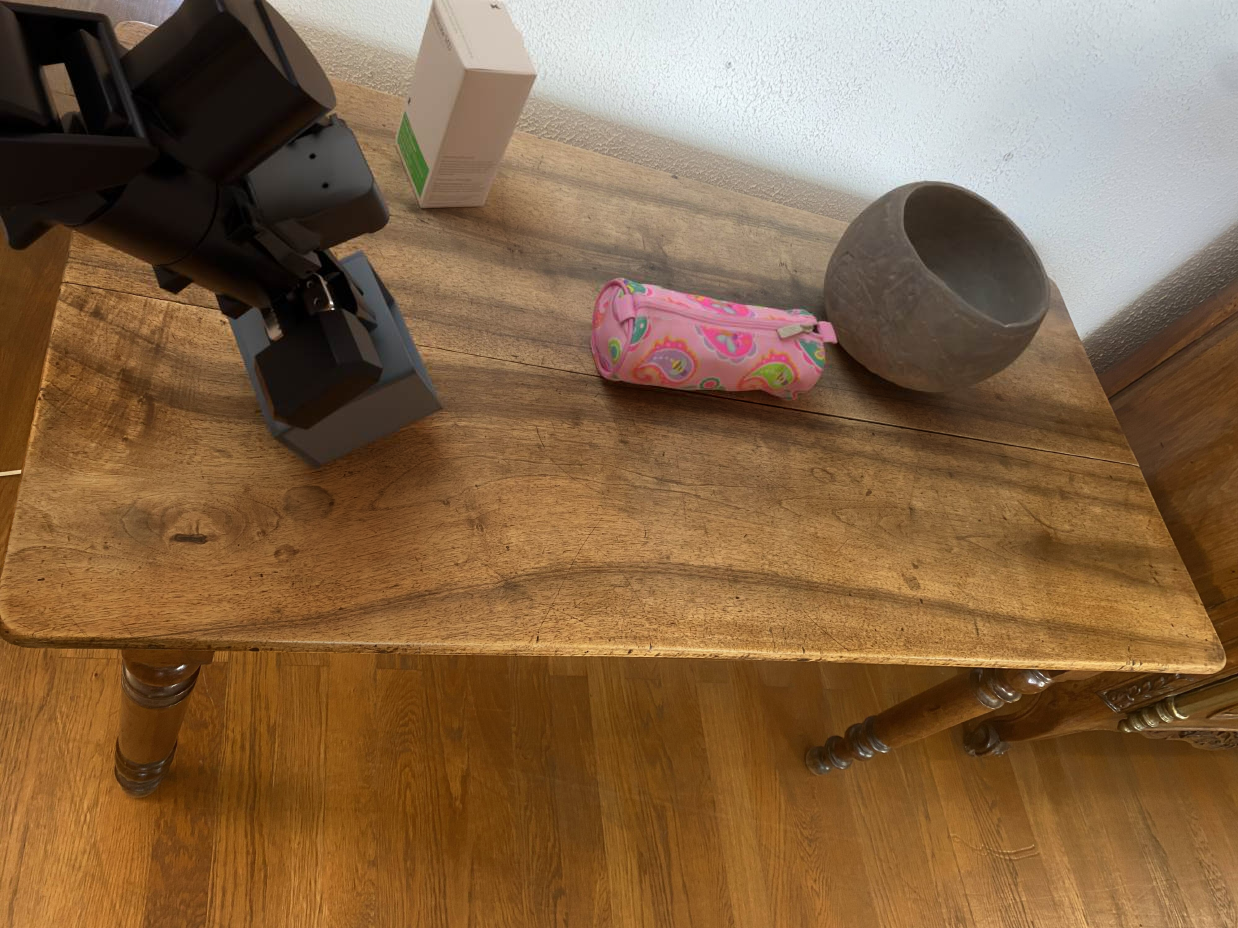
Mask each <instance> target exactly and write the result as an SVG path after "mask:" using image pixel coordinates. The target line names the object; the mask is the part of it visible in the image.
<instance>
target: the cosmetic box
mask: <svg viewBox="0 0 1238 928" xmlns="http://www.w3.org/2000/svg"><path fill="white" fill-rule="evenodd" d="M537 77H538V73H537V71H536V69H535V67H534V64H533V62H532V60H531V58H530V56H529V53H528V51H527V49H526V47H525V39H524V37H523V35H522V33H521V31H520V30H519V29H518V28H516V26H515V24H514V22H513V19H512V17H511V15H510V13H509V10H508V8H507V6H506V3H505V2H504V1H499V0H432V2H431V4H430V8H429V12H428V17H427V20H426V24H425V27H424V31H423V35H422V39H421V41H420V46H419V50H418V53H417V57H416V61H415V64H414V68H413V72H412V76H411V79H410V83H409V87H408V90H407V93H406V97H405V100H404V103H403V104H404V105H403V108H402V113H401V116H400V120H399V122H398V127H397V130H396V134H395V138H394V144H395V147H396V149H397V152H398V154H399V156H400V160H401V163H402V165H403V167H404V170H405V173H406V175H407V177H408V179H409V182H410V184H411V185H410V186H411V187H412V190H413V192H414V195H415V197H416V200H417V202H418V205H419V207H420V208H421V209H433V208H434V209H435V208H437V209H438V208H465V207H469V208H471V207H483V206H484V205H485V201H486V200H487V198H488V194H489V192H490V191H491V188H492V185H493V183H494V180H495V177H496V175H497V173H498V170H499V168H500V166H501V163H502V161H503V159H504V157H505V154H506V151H507V149H508V146H509V145H510V141H511V139H512V138H513V137H512V136H513V134H514V132H515V129H516V127H517V124H518V122H519V120H520V117H521V115H522V112H523V110H524V108H525V106H526V103H527V101H528V98H529V96H530V94H531V91H532V89H533V86H534V84H535V82H536V79H537Z"/></svg>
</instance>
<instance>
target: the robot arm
mask: <svg viewBox="0 0 1238 928" xmlns="http://www.w3.org/2000/svg"><path fill="white" fill-rule="evenodd" d="M60 64H63V65H64V67H65V71H66V73H67V76H68V79H69V82H70V85H71V88H72V91H73V94H74V97H75V100H76V104H77V105H78V108H79V111H77V110H69V111H67V112H65V113H63V114H62V115H61V116H60V114H59V110H58V108H57V105H56V102H55V99H54V96H53V93H52V89H51V87H50V84H49V81H48V76H47V75H46V71H45V69H44V67H46V66H47V67H48V66H52V65H53V66H54V65H60ZM337 105H338V104H337V97H336V93H335V90H334V88H333V86H332V84H331V82H330V80H329V78H328V76H327V74H326V72H325V70H324V69H323V67H322V66H321V64H320V63H319V61H318V59H317V58H316V57H315V55H314V54H313V52H312V51H311V49H310V48H309V47H308V45H307V44H306V43H305V41H304V39H302V37H301V36H300V35H299V34H298V33H297V31H296V30H295V29H294V28H293V27H292V25H291V24H290V23H289V22H288V21H287V20H286V18H284V16H282V14H281V13H280V12H279V11H278V10H276V8H275V7H274V6H273V5H272V4H271V3H270V2H269V1H268V0H183V1H182V2H181V4H180V5H179V6H178V8H177V9H176V10H175V12H174V13H172V14H171V15H170V16H169V17H168V18H167V19H165V20H164V21H163V22H162V23H161V24H160V25H158V26H157V27H156V28H155V29H153V30H152V31H151V32H150V33H148V35H146V36H145V37H144V38H143V39H142V40H140V41H139V42H138V43H137V44H136V45H135V46H133V47H132V48H131V49H128V48H127V47H126V46H124V45H123V44H121V43H120V42H119V39H118V36H117V33H116V30H115V27H114V24H113V23H112V20H111V18H110V17H109V16H108V15H107V14H105V13H101V12H93V11H85V10H78V9H72V8H71V9H70V8H63V7H58V6H47V5H38V4H30V3H23V2H15V1H14V2H13V1H6V0H0V221H1V225H2V228H3V231H4V235H5V238H6V242H7V245H8V247H9V248H10V249H11V250H13V251H24V250H27V249H28V248H29V247H31V246H32V245H34V244H35V243H36V242H37V241H38V240H40V239H41V238H42V237H43V236H45V235H46V234H47V233H48V232H50V231H51V230H52V229H54V228H55V227H56V226H57V227H58V226H60V225H61V226H63V227H66V228H67V229H70V230H72V231H74V232H76V233H79V234H81V235H84V236H85V237H88V238H90V239H92V240H95V241H97V242H100V243H101V244H104V245H106V246H108V247H110V248H113V249H115V250H117V251H119V252H122V253H123V254H126V255H128V256H130V257H133V258H135V259H138V260H139V261H142V262H144V263H146V264H148V265H150V266H151V268H152V270H153V272H154V276H155V279H156V281H157V284H158V287H159V289H160V290H163V291H166V292H169V293H171V294H172V295H175V296H177V295H178V294H179V293H180V292H182V291H183V290H184V289H186V288H187V287H188V286H190V285H191V284H193V285H195V286H197V287H200V288H202V289H204V290H206V291H209V292H211V293H213V294H214V296H215V299H216V301H217V304H218V307H219V310H220V312H221V315H223V316H225V317H226V318H227V317H230V318H232V319H235V320H236V319H238V318H239V317H241V316H242V315H243V314H245V313H246V312H248V311H249V310H250V309H252V308H253V307H255V308H258V310H259V312H260V315H261V317H262V320H263V323H264V325H265V327H264V329H265V332H266V335H267V337H268V340H269V342H270V345H269V346H268V347H266V348H265V349H263V350H262V351H261V352H259V353H258V354H256V355H255V356H254V371H255V373H256V376H257V379H258V381H259V384H260V387H261V389H262V392H263V395H264V397H265V400H266V403H267V405H268V408H269V411H270V413H271V416H272V419H273V420H274V421H277V422H281V423H284V424H287V425H291V426H294V427H298V428H301V429H304V430H308V429H310V428H311V427H313V426H314V425H316V424H317V423H319V422H320V421H322V420H323V419H325V418H326V417H328V416H329V415H331V414H332V413H334V412H335V411H337V410H338V409H340V408H341V407H343V406H344V405H346V404H347V403H349V402H350V401H352V400H353V399H355V398H356V397H358V396H359V395H361V394H362V393H364V392H365V391H367V390H368V389H370V388H371V387H373V386H374V385H376V384H377V383H379V381H380V378H381V374H382V371H383V366H382V364H381V362H380V359H379V357H378V355H377V352H376V350H375V348H374V345H373V343H372V341H371V338H370V336H369V334H368V333H369V332H371V331H372V330H374V329H375V328H377V326H378V324H377V322H376V320H374V319H373V318H372V317H371V316H370V315H369V314H368V313H367V312H366V311H364V310H363V309H362V308H360V307H359V306H358V303H357V300H356V298H355V296H354V293H353V291H352V289H351V286H350V284H349V282H348V279H347V277H348V278H349V279H350V280H351V282H352V283H353V284H354V286H355V287H356V288H357V290H358V291H359V292H360V294H361V295H362V296H363V295H364V292H363V290H362V288H361V287H360V286H359V285H358V283H357V282H356V281H355V280H354V278H353V277H352V276H351V275H350V274H349V272H348V271H347V270H346V269H345V268H344V266H343V265H342V264H341V263H340V262H339V260H340V259H338V257H337V256H336V255H335V254H334V253H333V252H332V251H331V249H332V248H334V247H336V246H339V245H342V244H344V243H346V242H348V241H352V240H354V239H356V238H358V237H361V236H363V235H366V234H374V233H377V232H379V231H381V230H382V229H384V228H385V227H386V226H387V224H388V223H389V222H390V218H391V211H390V209H389V207H388V204H387V203H386V200H385V198H384V196H383V194H382V191H381V189H380V187H379V185H378V183H377V181H376V179H375V177H374V174H373V172H372V170H371V167H370V165H369V163H368V161H367V158H366V157H365V154H364V153H363V149H362V148H361V146H360V144H359V141H358V140H357V137H356V135H355V134H354V131H353V130H352V129H351V128H350V127H349V126H348V123H347V121H346V120H345V119H344V118H340V117H338V115H337V113H336V112H334V113H331V114H329V113H330V112H331V111H333V110H334V109H335V108H336V107H337ZM327 114H329V115H328V116H327ZM333 272H339V274H338V275H336V276H335V277H334V278H332V279H331V280H329V281H328V282H326V281H324V280H323V278H322V277H324V276H325V275H327V274H329V273H333ZM346 276H347V277H346Z"/></svg>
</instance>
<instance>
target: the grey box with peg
mask: <svg viewBox="0 0 1238 928" xmlns="http://www.w3.org/2000/svg"><path fill="white" fill-rule="evenodd" d="M338 260H339V262H340V263H341V264H342V265H343V266H344V268H345V269H346V270H347V271H348V272H349V274H350V275H351V276H352V277H353V278H354V280H355V281H356V282H357V283H358V285H359V286H360V287H361V288H362V290H363V292H364V295H363V296H362V295H361V294H360V292H359V291H358V290H357V288H356V287H355V286H354V284H353V283H352V282H351V280H350V279H349V278H348V277H347V276H346V277H347V279H348V282H349V284H350V286H351V289H352V291H353V293H354V296H355V298H356V300H357V303H358V306H359V307H360V308H362V309H363V310H364V311H366V312H367V313H368V314H369V315H370V316H371V317H372V318H373V319H374V320H376V322H377V324H378V326H377V328H375V329H374V330H372V331H371V332H369V333H368V334H369V336H370V338H371V341H372V343H373V345H374V348H375V350H376V352H377V355H378V357H379V359H380V362H381V364H382V366H383V371H382V374H381V378H380V381H379V383H377V384H376V385H374V386H373V387H371V388H370V389H368V390H367V391H365V392H364V393H362V394H361V395H359V396H358V397H356V398H355V399H353V400H352V401H350V402H349V403H347V404H346V405H344V406H343V407H341V408H340V409H338V410H337V411H335V412H334V413H332V414H331V415H329V416H328V417H326V418H325V419H323V420H322V421H320V422H319V423H317V424H316V425H314V426H313V427H311V428H310V429H308V430H304V429H301V428H298V427H294V426H291V425H287V424H284V423H281V422H277V421H274V420H273V419H272V416H271V413H270V411H269V408H268V405H267V403H266V400H265V397H264V395H263V392H262V389H261V387H260V384H259V381H258V379H257V376H256V373H255V371H254V356H255V355H256V354H258V353H259V352H261V351H262V350H263V349H265V348H266V347H268V346H269V345H270V342H269V340H268V337H267V335H266V332H265V329H264V327H265V325H264V323H263V320H262V317H261V315H260V312H259V310H258V308H255V307H253V308H252V309H250V310H249V311H248V312H246V313H245V314H243V315H242V316H241V317H239V318H238V319H236V320H235V319H232V318H230V317H227V316H226V318H227V320H228V323H229V326H230V328H231V331H232V334H233V336H234V339H235V343H236V345H237V347H238V350H239V353H240V356H241V359H242V361H243V364H244V366H245V370H246V372H247V375H248V377H249V380H250V382H251V385H252V388H253V391H254V393H255V395H256V399H257V401H258V404H259V407H260V410H261V412H262V415H263V417H264V420H265V423H266V426H267V428H268V431H269V434H270V437H271V438H273V439H274V440H275V441H277V442H278V443H279V444H281V445H282V446H283V447H285V448H286V449H288V450H289V451H291V452H292V453H294V455H297V456H298V457H299V458H300V459H302V460H303V461H305V462H306V463H307V464H309V465H310V466H312V467H313V468H314V469H318V468H321V467H323V466H325V465H327V464H329V463H331V462H333V461H335V460H337V459H340V458H342V457H344V456H346V455H348V454H350V453H352V452H354V451H357V450H358V449H361V448H363V447H365V446H367V445H370V444H372V443H373V442H376V441H378V440H381V439H382V438H385V437H387V436H389V435H390V434H393V433H395V432H397V431H399V430H401V429H403V428H405V427H408V426H409V425H410V426H411V425H412V424H414V423H416V422H418V421H420V420H422V419H425V418H427V417H430V416H431V415H433V414H435V413H438V412H440V411H441V410H443V409H444V406H443V404H442V401H441V400H440V397H439V395H438V393H437V391H436V388H435V386H434V383H433V381H432V380H431V377H430V375H429V373H428V370H427V368H426V366H425V364H424V362H423V359H422V357H421V354H420V352H419V350H418V347H417V345H416V343H415V341H414V339H413V336H412V335H411V332H410V330H409V327H408V325H407V322H406V321H405V318H404V316H403V314H402V311H401V309H400V307H399V305H398V303H397V300H396V299H395V297H394V295H393V294H392V293H391V291H390V289H389V288H388V287H387V285H386V284H385V282H384V281H383V279H382V278H381V276H380V275H379V273H378V271H377V270H376V269H375V267H374V266H373V264H372V263H371V261H370V259H369V258H368V257H367V255H366V254H365V253H364V251H363V249H360V250H358V251H356V252H354V253H352V254H351V253H350V254H349V255H347V256H344V257H342V258H341V259H338ZM338 274H339V272H333V273H329V274H327V275H325V276H324V277H322V278H323V280H324V281H326V282H328V281H329V280H331V279H332V278H334V277H335V276H336V275H338Z"/></svg>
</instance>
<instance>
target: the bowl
mask: <svg viewBox="0 0 1238 928" xmlns="http://www.w3.org/2000/svg"><path fill="white" fill-rule="evenodd" d="M822 289H823V291H822V296H823V303H824V304H823V306H824V311H825V315H826V319H827V322H830V323H831V325H832V327H833V329H834V332H835V335H836V339H837V343H839V345H840V346H841V347H842V348H843V349H844V350H845V351H846V353H847V354H849V355H850V357H852V358H853V359H854V360H855V361H856V362H858V363H859V364H861V365H862V366H863V367H865V369H867V370H868V371H870V373H872V374H876V375H877V376H879V377H881V378H882V379H884V380H887V381H888V382H892V383H893V384H895V385H897V386H899V387H901V388H904V389H908V390H913V391H918V392H919V391H920V392H926V393H943V392H949V391H953V390H958V389H962V388H963V389H964V388H966V387H970V386H973V385H976V384H979V383H982V382H984V381H986V380H989V379H990V378H992V377H994V376H995V375H998V374H999V373H1001V372H1003V371H1004V370H1005V369H1007V368H1008V367H1009V366H1010V365H1012V364H1013V363H1014V362H1015V361H1016V360H1018V358H1019V357H1020V356H1021V355H1022V354H1024V352H1025V351H1026V349H1027V348H1028V347H1029V346H1030V344H1031V342H1032V341H1033V340H1034V338H1035V336H1036V335H1037V332H1038V331H1039V329H1040V327H1041V325H1042V323H1043V321H1044V320H1045V318H1046V316H1047V314H1048V312H1049V308H1050V303H1051V293H1052V292H1051V285H1050V279H1049V277H1048V274H1047V272H1046V269H1045V266H1044V264H1043V262H1042V259H1041V258H1040V256H1039V254H1038V252H1037V251H1036V249H1035V248H1034V245H1033V244H1032V242H1031V241H1030V240H1029V238H1028V237H1027V236H1026V234H1025V233H1024V231H1023V230H1022V229H1021V228H1020V226H1018V225H1017V224H1016V223H1015V222H1014V220H1012V219H1011V217H1009V216H1008V215H1007V214H1006V213H1004V212H1003V211H1002V210H1001V209H1000V208H998V207H997V206H996V205H995V204H994V203H992V202H991V201H989V200H988V199H987V198H985V197H983V195H980V194H978V193H976V192H974V191H973V190H970V189H968V188H966V187H964V186H962V185H958V184H956V183H953V182H946V181H940V180H920V181H914V182H908V183H906V184H903V185H899V186H897V187H895V188H893V189H891V190H890V191H888V192H886V193H883V195H881V196H879V198H877V199H876V200H874V201H873V202H871V203H870V204H869V205H868V206H867V207H866V208H864V209H863V211H861V212H860V213H859V214H858V215H857V216H856V217H855V218H854V219H853V220H852V221H851V222H850V224H849V225H848V226H847V228H846V229H845V231H844V233H842V236H841V237H840V240H839V241H838V243H837V245H836V247H835V248H834V250H833V252H832V254H831V256H830V258H829V260H828V263H827V267H826V271H825V274H824V278H823V288H822Z"/></svg>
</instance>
